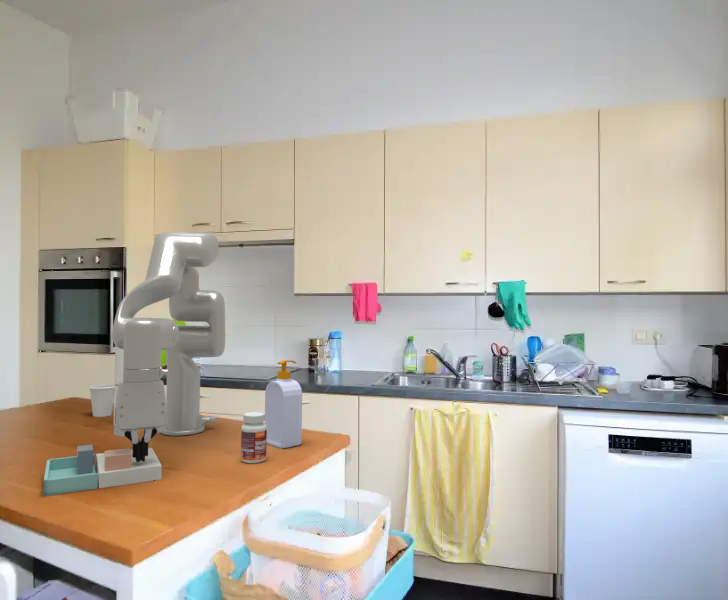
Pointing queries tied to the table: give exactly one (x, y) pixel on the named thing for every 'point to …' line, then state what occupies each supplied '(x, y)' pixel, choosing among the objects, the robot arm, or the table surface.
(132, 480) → the white flat block
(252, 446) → the pill bottle
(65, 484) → the tray
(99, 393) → the dixie cup
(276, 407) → the soap bottle
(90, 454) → the grey block
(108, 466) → the salmon pink box
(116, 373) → the cylindrical container
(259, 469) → the table surface
